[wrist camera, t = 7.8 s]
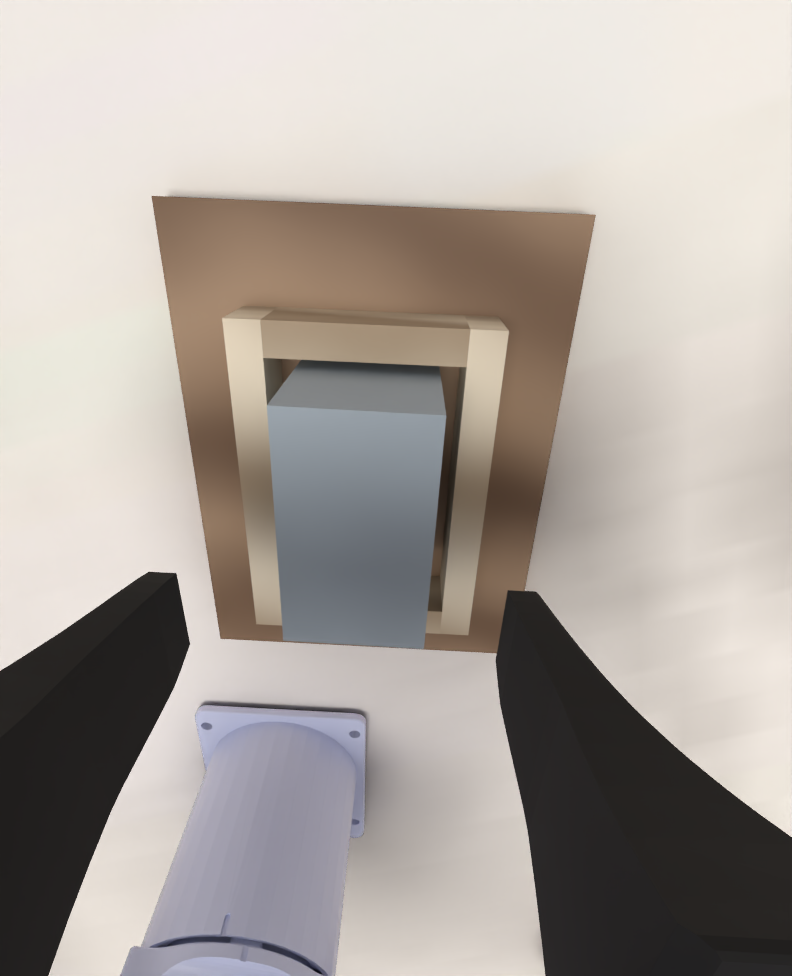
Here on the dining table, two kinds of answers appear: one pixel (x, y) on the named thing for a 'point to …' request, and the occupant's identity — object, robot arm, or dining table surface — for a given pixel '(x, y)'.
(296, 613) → the key block
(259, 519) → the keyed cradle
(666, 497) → the dining table surface
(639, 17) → the dining table surface
